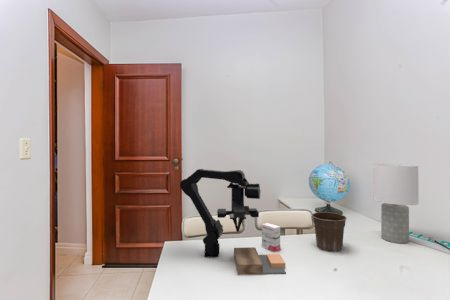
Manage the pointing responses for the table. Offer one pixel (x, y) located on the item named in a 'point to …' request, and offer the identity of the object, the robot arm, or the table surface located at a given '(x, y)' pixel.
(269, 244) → the ink box
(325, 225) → the plant pot
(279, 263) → the light orange block
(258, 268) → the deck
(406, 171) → the lamp
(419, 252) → the table surface
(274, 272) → the mat
